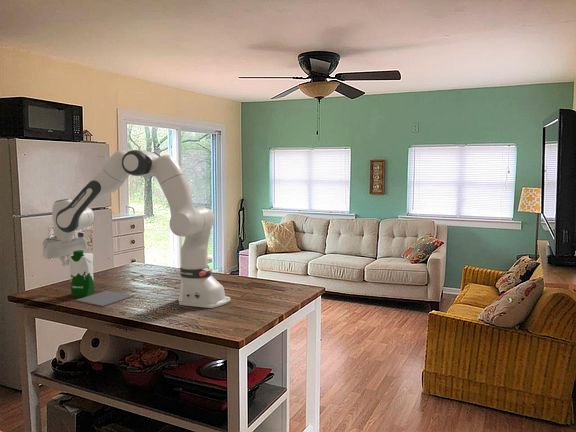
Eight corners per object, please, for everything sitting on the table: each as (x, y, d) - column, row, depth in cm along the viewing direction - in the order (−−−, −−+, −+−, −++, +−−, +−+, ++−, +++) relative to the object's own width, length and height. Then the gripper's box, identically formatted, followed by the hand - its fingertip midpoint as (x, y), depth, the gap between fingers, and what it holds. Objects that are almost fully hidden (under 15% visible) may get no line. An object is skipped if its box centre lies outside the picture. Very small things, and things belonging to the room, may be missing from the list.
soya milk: (68, 297, 208) (65, 251, 205) (79, 291, 217) (76, 248, 214) (87, 297, 207) (85, 252, 204) (97, 291, 216) (95, 248, 213)
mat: (133, 296, 207) (133, 295, 207) (102, 306, 194) (102, 305, 194) (106, 291, 216) (106, 290, 216) (75, 300, 202) (75, 299, 202)
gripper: (47, 239, 203) (49, 270, 205) (88, 232, 221) (90, 261, 223) (38, 238, 206) (40, 269, 208) (79, 231, 224) (81, 260, 226)
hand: (66, 265), depth 215 cm, fingers closed
